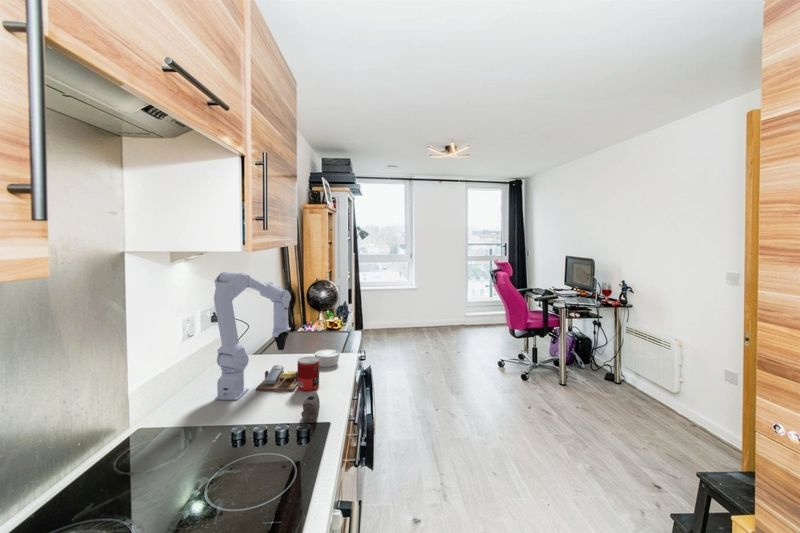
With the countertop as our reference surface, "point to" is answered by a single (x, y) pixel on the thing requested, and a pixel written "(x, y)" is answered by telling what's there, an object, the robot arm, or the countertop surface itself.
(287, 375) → the yellow rectangular block
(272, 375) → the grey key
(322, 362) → the ramekin
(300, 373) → the canned food
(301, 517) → the countertop surface
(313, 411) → the perforated stone tool
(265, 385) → the walnut board
